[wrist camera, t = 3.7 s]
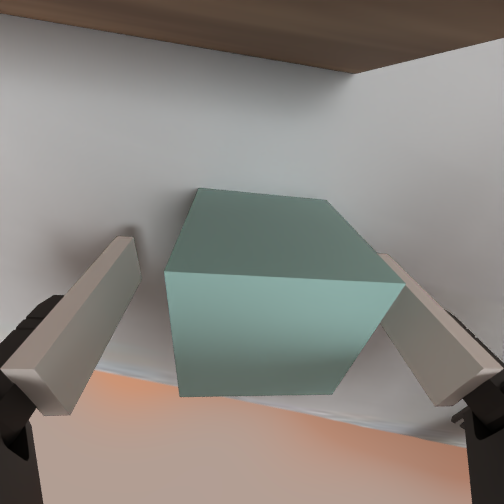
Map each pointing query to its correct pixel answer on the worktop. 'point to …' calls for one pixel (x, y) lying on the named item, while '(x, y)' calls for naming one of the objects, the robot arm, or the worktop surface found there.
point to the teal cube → (271, 295)
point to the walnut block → (289, 26)
